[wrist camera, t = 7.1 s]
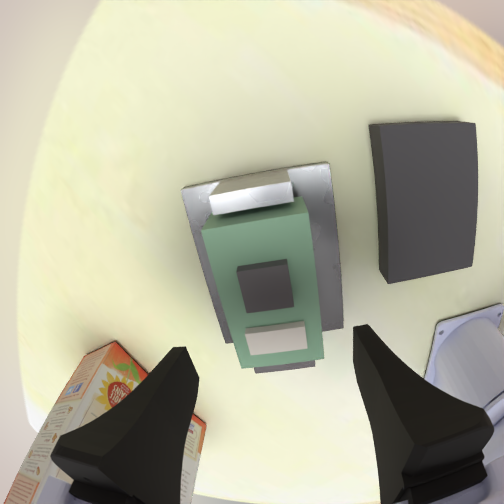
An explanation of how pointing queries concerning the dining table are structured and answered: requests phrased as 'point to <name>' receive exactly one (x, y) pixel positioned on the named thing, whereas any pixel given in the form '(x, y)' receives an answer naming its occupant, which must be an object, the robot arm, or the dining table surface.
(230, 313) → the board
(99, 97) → the dining table surface
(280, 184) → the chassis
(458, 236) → the pad
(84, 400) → the cracker box
